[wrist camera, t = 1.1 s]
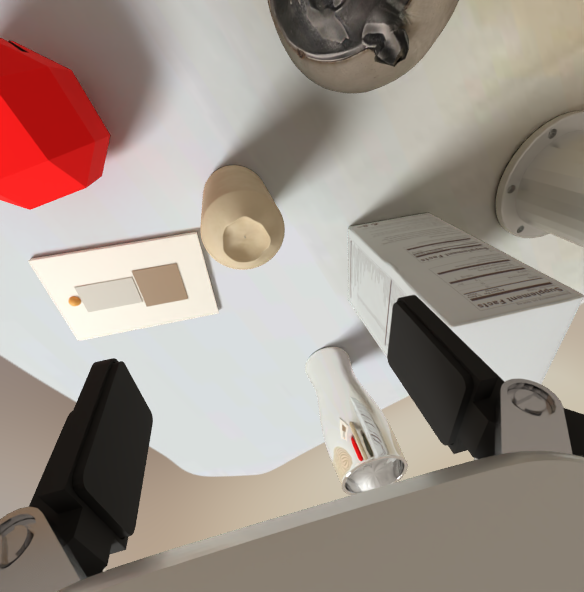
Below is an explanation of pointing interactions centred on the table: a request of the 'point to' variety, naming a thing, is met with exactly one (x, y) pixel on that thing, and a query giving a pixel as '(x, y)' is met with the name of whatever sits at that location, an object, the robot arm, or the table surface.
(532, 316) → the supplement box
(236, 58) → the table surface
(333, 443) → the beer glass
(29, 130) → the ball
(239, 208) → the candle
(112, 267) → the card
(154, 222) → the table surface
